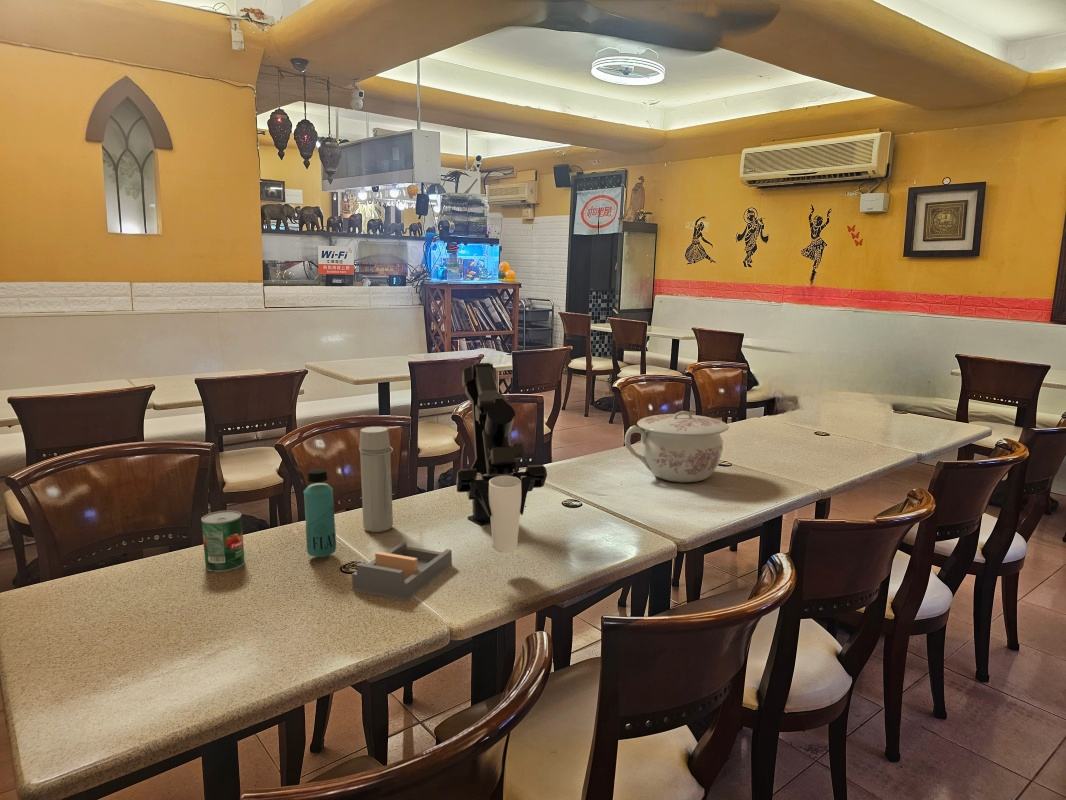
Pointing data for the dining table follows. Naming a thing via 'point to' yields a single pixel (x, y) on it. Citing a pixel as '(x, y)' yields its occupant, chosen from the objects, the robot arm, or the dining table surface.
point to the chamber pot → (679, 445)
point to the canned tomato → (223, 540)
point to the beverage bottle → (319, 515)
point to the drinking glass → (505, 512)
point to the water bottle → (376, 478)
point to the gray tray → (401, 573)
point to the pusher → (397, 562)
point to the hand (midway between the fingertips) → (506, 515)
